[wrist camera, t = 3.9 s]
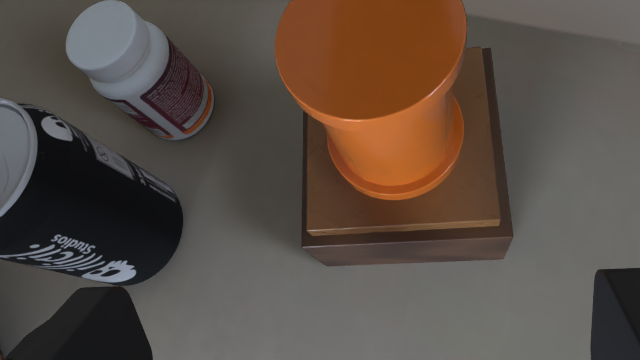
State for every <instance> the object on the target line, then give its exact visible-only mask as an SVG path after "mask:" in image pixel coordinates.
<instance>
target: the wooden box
mask: <svg viewBox="0 0 640 360" xmlns="http://www.w3.org/2000/svg"><path fill="white" fill-rule="evenodd" d="M453 93H454V97H455V99H456V100H457V102H458V104H459V106H460V109H461V112H462V115H463V120H464V142H463V148H462V152H461V155H460V157H459V160H458V162H457V164H456V165H455V167H454V169H453V170H452V172H451V173H450V174H449V175H448V176H447V178H445V179H444V180H443V181H442V182H441V183H440V184H439V185H437V186H436V187H435V188H433V189H432V190H430V191H428V192H426V193H424V194H421V195H419V196H416V197H413V198H409V199H402V200H384V199H378V198H374V197H371V196H368V195H366V194H364V193H362V192H360V191H358V190H356V189H355V188H354V187H353V186H351V185H350V184H349V183H348V182H347V181H346V180H345V179H344V178H343V177H342V175H341V174H340V173H339V171H338V169H337V168H336V166H335V164H334V162H333V161H332V158H331V156H330V153H329V149H328V144H327V131H326V130H325V128H324V126H323V124H322V123H321V122H320V121H319V120H317V119H315V118H313V117H312V116H311V115H309V114H308V113H306V112H305V111H304V110H303V179H302V248H303V249H304V250H306V251H307V252H309V253H310V254H311V255H313V256H314V257H315V258H317V259H318V260H319V261H321V262H322V263H323V264H325V265H326V266H346V265H371V264H396V263H421V262H446V261H471V260H496V259H504V256H505V254H506V252H507V250H508V247H509V245H510V243H511V240H512V238H513V230H512V222H511V214H510V205H509V197H508V188H507V180H506V172H505V163H504V155H503V146H502V138H501V130H500V121H499V113H498V104H497V96H496V88H495V79H494V71H493V62H492V54H491V48H483V49H482V48H481V47H473V48H466V52H465V57H464V60H463V64H462V67H461V69H460V71H459V74H458V76H457V78H456V79H455V81H454V83H453Z"/></svg>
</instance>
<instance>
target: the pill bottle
mask: <svg viewBox="0 0 640 360" xmlns="http://www.w3.org/2000/svg"><path fill="white" fill-rule="evenodd" d="M66 53H67V56H68V58H69V59H70V61H71V62H72V63H73V64H74V65H75V66H76V67H77V68H78V69H79V70H81V71H82V72H83V73H85V74H86V75H87V76H88V77H89V79H90V82H91V84H92V85H93V87H94V88H95V90H96V91H97V92H98V93H99V94H100V95H102V96H103V97H104V98H106V99H107V100H109V101H110V102H111V103H113V104H114V105H116V106H117V107H118V108H120V109H121V110H122V111H124V112H125V113H127V114H128V115H129V116H131V117H132V118H133V119H135V120H136V121H138V122H139V123H140V124H142V125H143V126H144V127H146V128H147V129H148V130H150V131H151V132H152V133H154V134H155V135H157V136H158V137H160V138H162V139H165V140H181V139H185V138H188V137H191V136H192V135H194V134H196V133H197V132H198V131H199V130H200V129H201V128H202V127H203V126H204V125H205V124H206V122H207V121H208V119H209V117H210V116H211V113H212V110H213V104H214V95H213V90H212V88H211V86H210V84H209V83H208V82H207V80H206V79H205V78H204V77H203V76H202V75H201V74H200V72H199V71H198V70H197V69H196V68H195V67H194V66H193V65H192V64H191V63H190V61H189V60H188V59H187V58H186V57H185V56H184V55H183V54H182V53H181V52H180V51H179V50H178V48H177V47H176V46H175V45H174V44H173V43H172V42H171V41H170V40H169V38H168V37H167V36H166V35H165V34H164V32H163V31H162V30H160V29H159V28H158V27H157V26H155V25H154V24H152V23H150V22H148V21H145V20H143V19H142V18H141V17H140V16H139V15H138V14H137V13H136V12H135V11H134V10H133V9H132V8H131V7H130V6H128V5H127V4H125V3H123V2H121V1H117V0H106V1H102V2H99V3H96V4H94V5H92V6H90V7H89V8H87V9H86V10H85V11H83V12H82V13H81V14H80V15H79V16H78V17H77V18H76V20H75V21H74V23H73V24H72V26H71V27H70V30H69V32H68V35H67V38H66Z"/></svg>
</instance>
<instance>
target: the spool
mask: <svg viewBox="0 0 640 360" xmlns="http://www.w3.org/2000/svg"><path fill="white" fill-rule="evenodd" d="M466 44H467V19H466V13H465V9H464V6H463V3H462V0H291V1H290V2H289V4H288V5H287V7H286V9H285V11H284V13H283V15H282V17H281V20H280V22H279V25H278V29H277V33H276V39H275V59H276V64H277V68H278V71H279V74H280V77H281V79H282V80H283V82H284V84H285V86H286V88H287V89H288V91H289V92H290V94H291V96H292V97H293V98H294V100H295V101H296V102H297V104H298V105H299V106H300V107H301V108H302V109H303V110H304V111H305V112H306V113H308V114H309V115H311V116H312V117H313V118H315V119H317V120H319V121H320V122H321V123H322V124H323V126H324V128H325V130H326V131H327V144H328V149H329V153H330V156H331V158H332V161H333V162H334V164H335V166H336V168H337V169H338V171H339V173H340V174H341V175H342V177H343V178H344V179H345V180H346V181H347V182H348V183H349V184H350V185H351V186H353V187H354V188H355V189H356V190H358V191H360V192H362V193H364V194H366V195H368V196H371V197H374V198H378V199H384V200H402V199H409V198H413V197H416V196H419V195H421V194H424V193H426V192H428V191H430V190H432V189H433V188H435V187H436V186H437V185H439V184H440V183H441V182H442V181H443V180H444V179H445V178H447V176H448V175H449V174H450V173H451V172H452V170H453V169H454V167H455V165H456V164H457V162H458V160H459V157H460V155H461V152H462V148H463V142H464V120H463V115H462V112H461V109H460V106H459V104H458V102H457V100H456V99H455V97H454V93H453V83H454V81H455V79H456V78H457V76H458V74H459V71H460V69H461V67H462V64H463V60H464V57H465V52H466Z"/></svg>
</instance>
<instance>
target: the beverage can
mask: <svg viewBox="0 0 640 360" xmlns="http://www.w3.org/2000/svg"><path fill="white" fill-rule="evenodd" d="M182 228H183V213H182V208H181V205H180V202H179V200H178V198H177V196H176V194H175V193H174V191H173V190H172V189H171V188H170V187H169V186H168V185H167V184H166V183H165V182H163V181H161V180H160V179H158V178H157V177H155V176H153V175H152V174H150V173H148V172H147V171H145V170H144V169H142V168H140V167H139V166H137V165H135V164H134V163H132V162H131V161H129V160H127V159H126V158H124V157H123V156H121V155H119V154H118V153H116V152H114V151H113V150H111V149H110V148H108V147H106V146H105V145H103V144H101V143H100V142H98V141H97V140H95V139H93V138H92V137H90V136H89V135H87V134H85V133H84V132H82V131H80V130H79V129H77V128H76V127H74V126H72V125H71V124H69V123H67V122H66V121H64V120H63V119H61V118H59V117H58V116H56V115H55V114H53V113H51V112H50V111H48V110H46V109H44V108H42V107H39V106H35V105H31V104H16V103H14V102H12V101H11V100H8V99H5V98H1V97H0V259H3V260H7V261H11V262H16V263H20V264H24V265H29V266H33V267H38V268H42V269H46V270H51V271H55V272H59V273H64V274H68V275H73V276H77V277H81V278H86V279H90V280H94V281H99V282H103V283H108V284H112V285H118V286H127V285H133V284H137V283H140V282H143V281H145V280H147V279H149V278H151V277H152V276H154V275H155V274H156V273H158V272H159V271H160V270H161V269H162V268H163V267H164V266H165V265H166V264H167V263H168V261H169V260H170V259H171V257H172V256H173V254H174V252H175V251H176V248H177V246H178V244H179V241H180V238H181V234H182Z"/></svg>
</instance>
